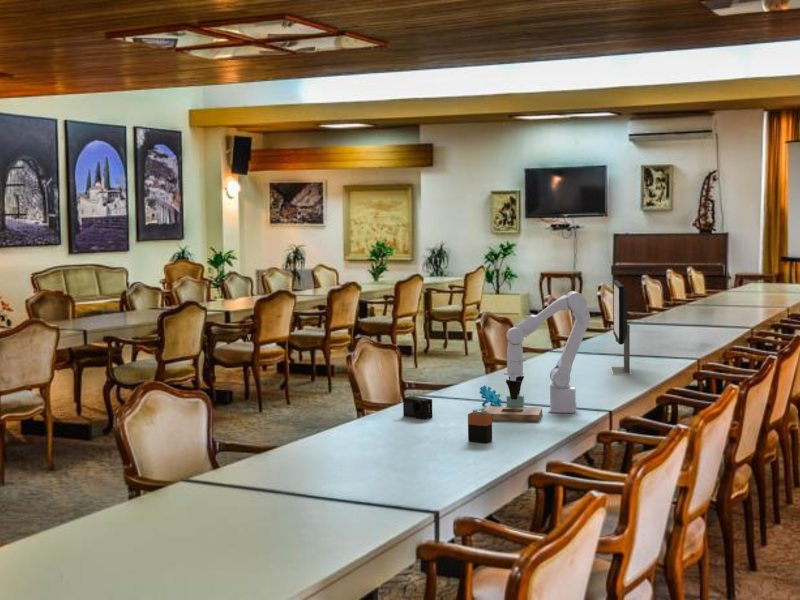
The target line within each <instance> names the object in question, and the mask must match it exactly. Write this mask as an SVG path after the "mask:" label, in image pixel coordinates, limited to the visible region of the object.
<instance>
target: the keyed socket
mask: <svg viewBox="0 0 800 600" xmlns="http://www.w3.org/2000/svg"><path fill="white" fill-rule="evenodd" d="M484 410H486V411H488V412H487V413H491V414H492V422H520V423H521V422H523V423H524V422H525V423H526V422H527V423H540V420H541V418H542V415H543V407H540V406H539V407H536V406H535V407H534V406H532V407H531V406H528V407H527V406H524V407H507V406H498V407H496V406H495V405H494V406H491V405H490V406H489V405H488V406H485V408H484Z"/></svg>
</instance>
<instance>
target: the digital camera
mask: <svg viewBox="0 0 800 600" xmlns="http://www.w3.org/2000/svg"><path fill="white" fill-rule="evenodd" d="M402 408H403V411H402V412H403V414H402V415H403V417H405V418H411V419H417V420H422V421H423V420H424V421H425V420H429V419H433V399H432V398H425V397H420V396H412V395H411V396H406V397H405V396H404V397H403V399H402Z"/></svg>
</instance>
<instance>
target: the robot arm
mask: <svg viewBox="0 0 800 600" xmlns="http://www.w3.org/2000/svg"><path fill="white" fill-rule="evenodd" d="M568 310H570V311H571V312H572V314H573V316H574V318H575V321H574V323H573V326H572V327H571V331H570V333H569V336H568V338H567V340H566V343H565V346H564V348H563V351H562V353H561V355H560V358H559V360H558V361H557V363H556V365H555V367H553V368H552V369H551V371H550V373H549V378H550V380H551V381H552V382H551V384H550V385H549V395H550V396H549V404H550V405H549V406H550V407H549V409H548V413H558V414H559V413H562V414H563V413H567V414H569V413H570V414H575V413H576V410H577V402H576V399H577V397H576V396H577V394H576V392H577V391H576V387H574V386H573V387H572V386H571V385H570V382H571V372H572V368H573V363H574V361H575V358H576V356H577V354H578V352H579V349H580V347H581V343H582V342H583V339H584V337H585V334H586V331H587V329H588V326H589V324H590V321H591V315H590V310H589V303H588V301H587V299H586V297H585V296H584V295H583V294H582V293H580V292H578V291H576V290H571V291H569V292H567V293H566V294H563V295H562V296H560V297H558V298H556V300H554V301H553V302H552V303H550V304H549V305H548V306H547V307H546V308H544V309H542V310H541V311H540V312H539V313H537V314H536V315H535V314H530V315H528V314H527V315H525V316H524V318H523V320H521V321H520V322H519V323H515V324H514V326H513V327H510V328H509V329H508V330H507V332H506V334H505V336H506V339H507V345H506V346H507V348H506V370H507V371H504V372H503V375H506V376H508V379H505V383H506V385H507V388H508V392H509V395H510V397H511V399H515V400H517V397H518V395H521V388H522V387H521V386H522V383H523V380H524V378H525V376H524V357H523V356H524V348H523V342H524V339H525V338H527V337H529V336H531V335H532V334H533V333H535V332H536V331H537V330H539V329H540V328H541V327H542V326H541V325H542V323H543V322H544V321H546V320H548V319H549V318H551V317H552V316H553V315H555V314H556V313H558V312H559V311H560V312H561V311H568Z"/></svg>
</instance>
